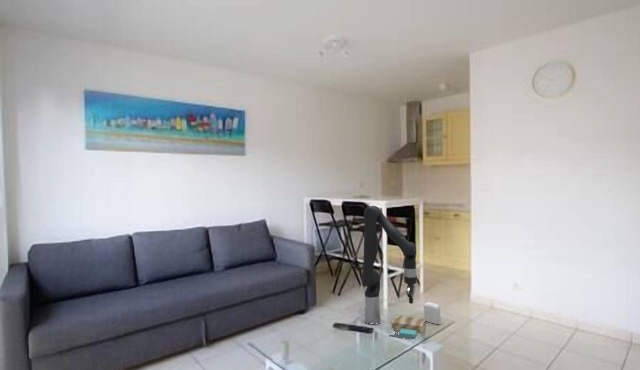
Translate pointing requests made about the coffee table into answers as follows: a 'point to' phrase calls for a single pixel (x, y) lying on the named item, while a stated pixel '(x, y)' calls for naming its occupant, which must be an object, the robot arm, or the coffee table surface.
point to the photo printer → (432, 313)
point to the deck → (409, 323)
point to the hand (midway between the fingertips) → (411, 303)
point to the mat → (398, 335)
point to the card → (408, 333)
